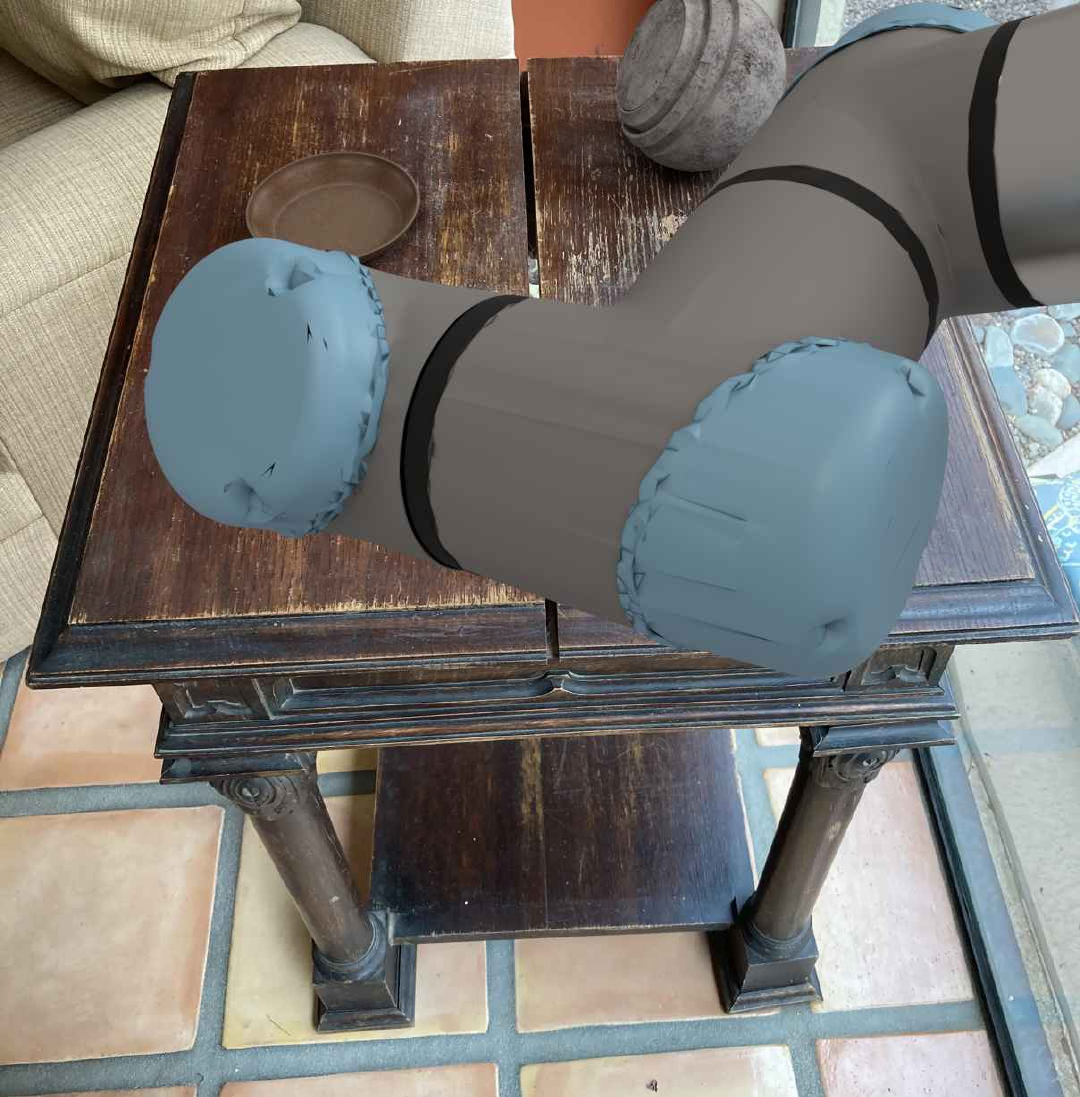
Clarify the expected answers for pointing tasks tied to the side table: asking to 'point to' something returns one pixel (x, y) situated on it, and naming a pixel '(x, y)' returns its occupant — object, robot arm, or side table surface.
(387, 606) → the side table surface
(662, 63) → the decorative orb
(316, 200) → the saucer
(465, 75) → the side table surface
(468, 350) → the robot arm
